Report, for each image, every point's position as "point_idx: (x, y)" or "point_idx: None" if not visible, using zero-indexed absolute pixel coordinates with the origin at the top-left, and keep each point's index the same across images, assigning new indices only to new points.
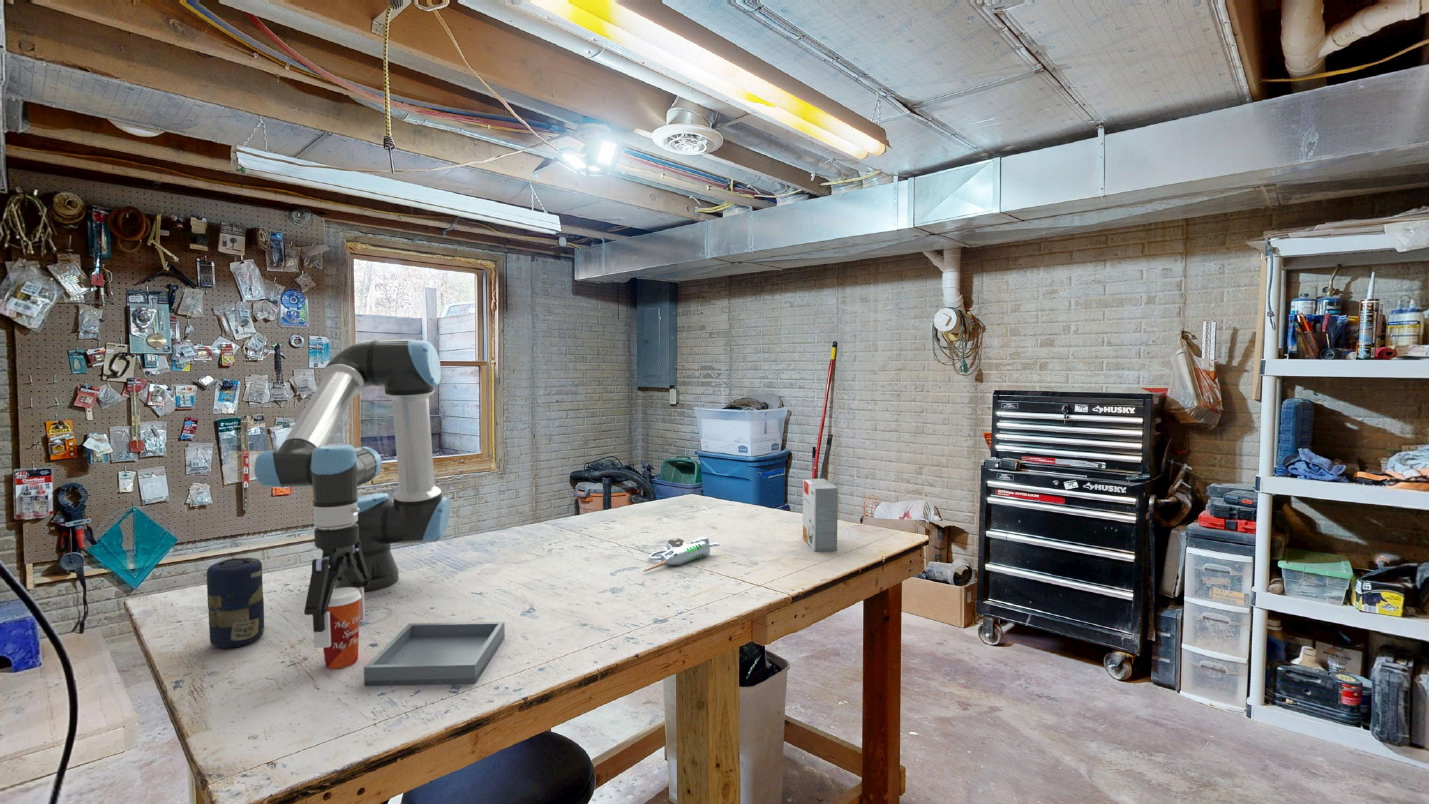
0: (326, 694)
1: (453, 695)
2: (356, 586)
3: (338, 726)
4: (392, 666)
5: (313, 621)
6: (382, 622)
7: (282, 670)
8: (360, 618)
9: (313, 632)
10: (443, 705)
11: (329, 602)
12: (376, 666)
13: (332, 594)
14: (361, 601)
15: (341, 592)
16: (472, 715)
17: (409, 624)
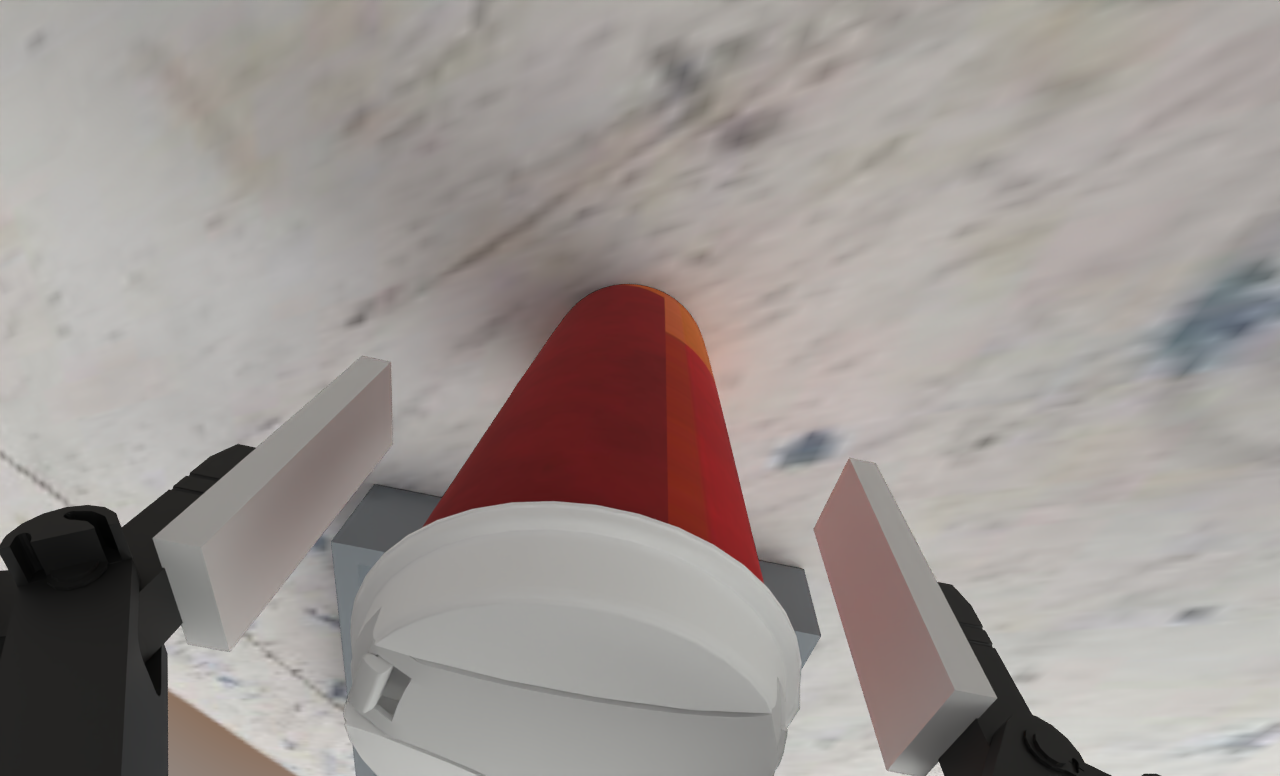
0: (303, 367)
1: (316, 689)
2: (961, 749)
3: (84, 461)
4: (343, 624)
5: (148, 511)
6: (1137, 439)
7: (598, 35)
8: (821, 520)
9: (296, 414)
10: (258, 674)
11: (355, 671)
12: (342, 579)
13: (518, 711)
14: (852, 637)
15: (577, 765)
16: (217, 719)
17: (805, 638)
